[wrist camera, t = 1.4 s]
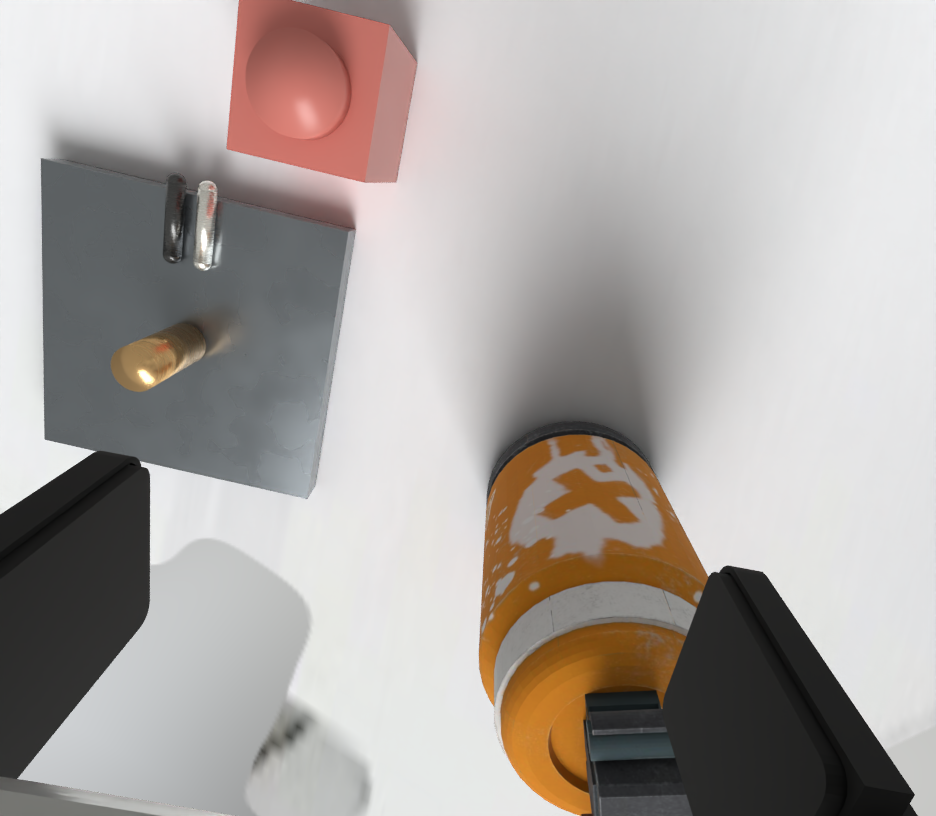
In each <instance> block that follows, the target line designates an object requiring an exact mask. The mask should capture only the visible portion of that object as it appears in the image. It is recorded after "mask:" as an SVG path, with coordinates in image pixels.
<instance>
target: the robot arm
mask: <svg viewBox="0 0 936 816" xmlns="http://www.w3.org/2000/svg"><path fill="white" fill-rule="evenodd" d="M149 602H150V474H149V471H148V469H147V468H144V467H141V464H140V461H139V459H138V458H136V457H133V456H128V455H122V454H117V453H112V452H106V451H97V452H94V453H93V454H91V455H90V456H88V457H87V458H85V459H84V460H82V461H81V462H79V463H78V464H76V465H75V466H73V467H72V468H70V469H69V470H67V471H66V472H64V473H62V474H61V475H59V476H58V477H56V478H55V479H53V480H52V481H50V482H49V483H47V484H46V485H44V486H43V487H41V488H40V489H38V490H37V491H35V492H34V493H32V494H31V495H29V496H28V497H26V498H25V499H23V500H22V501H20V502H19V503H17V504H16V505H14V506H13V507H11V508H10V509H8V510H7V511H5V512H3V513H2V514H0V816H233V815H228V814H222V813H216V812H209V811H204V810H198V809H192V808H185V807H180V806H174V805H168V804H162V803H157V802H151V801H145V800H139V799H133V798H127V797H121V796H115V795H109V794H103V793H98V792H92V791H85V790H80V789H73V788H68V787H62V786H56V785H49V784H44V783H38V782H32V781H26V780H19V779H17V778H18V777H19V776H20V774H21V773H22V772H23V771H24V769H25V768H26V767H27V766H28V764H29V763H30V762H31V761H32V760H33V759H34V757H35V756H36V755H37V753H38V752H39V751H40V750H41V749H42V747H43V746H44V745H45V744H46V742H47V741H48V740H49V739H50V738H51V736H52V735H53V734H54V733H55V731H56V730H57V729H58V728H59V727H60V725H61V724H62V723H63V722H64V720H65V719H66V718H67V717H68V715H69V714H70V713H71V712H72V711H73V709H74V708H75V707H76V706H77V704H78V703H79V702H80V701H81V699H82V698H83V697H84V696H85V695H86V693H87V692H88V691H89V690H90V688H91V687H92V686H93V685H94V683H95V682H96V681H97V680H98V679H99V677H100V676H101V675H102V674H103V672H104V671H105V670H106V669H107V667H108V666H109V665H110V664H111V663H112V661H113V660H114V659H115V658H116V656H117V655H118V654H119V653H120V651H121V650H122V649H123V648H124V647H125V645H126V644H127V643H128V642H129V640H130V639H131V638H132V637H133V636H134V634H135V633H136V632H137V631H138V629H139V628H140V627H141V625H142V624H143V622H144V620H145V618H146V616H147V613H148V609H149ZM663 718H664V723H665V726H666V729H667V732H668V736H669V739H670V742H671V746H672V749H673V752H674V755H675V759H676V762H677V765H678V769H679V772H680V775H681V778H682V782H683V785H684V788H685V792H686V795H687V798H688V801H689V805H690V808H691V811H692V815H693V816H918V815H917V814H916V813H915V811H914V810H913V808H912V806H911V805H910V802H911V800H912V799H913V797H914V795H915V794H914V793H913V791H912V790H911V788H910V787H909V785H908V784H907V782H906V781H905V780H904V778H903V777H902V775H901V774H900V772H899V771H898V769H897V768H896V766H895V765H894V764H893V762H892V760H891V759H890V757H889V756H888V755H887V753H886V751H885V750H884V749H883V747H882V746H881V744H880V743H879V741H878V740H877V738H876V737H875V735H874V734H873V732H872V731H871V729H870V728H869V726H868V725H867V723H866V722H865V721H864V719H863V718H862V716H861V715H860V713H859V712H858V710H857V709H856V707H855V706H854V704H853V703H852V701H851V700H850V698H849V697H848V695H847V694H846V693H845V691H844V690H843V688H842V687H841V685H840V684H839V682H838V681H837V679H836V678H835V676H834V675H833V673H832V672H831V670H830V669H829V667H828V666H827V664H826V663H825V662H824V660H823V659H822V657H821V656H820V654H819V653H818V651H817V650H816V648H815V647H814V645H813V644H812V642H811V641H810V639H809V638H808V636H807V635H806V634H805V632H804V631H803V629H802V628H801V626H800V625H799V623H798V622H797V620H796V619H795V617H794V616H793V614H792V613H791V611H790V610H789V608H788V607H787V606H786V604H785V603H784V601H783V600H782V598H781V597H780V595H779V594H778V592H777V591H776V589H775V588H774V586H773V585H772V583H771V582H770V580H769V579H768V578H767V576H766V575H765V574H764V573H763V572H760V571H755V570H749V569H744V568H738V567H733V566H725V567H723V568H722V569H721V571H720V572H719V573H717V572H713V573H711V575H710V576H709V578H708V580H707V582H706V585H705V587H704V590H703V593H702V596H701V598H700V601H699V604H698V606H697V609H696V612H695V614H694V617H693V620H692V622H691V625H690V628H689V631H688V633H687V636H686V639H685V641H684V644H683V647H682V649H681V652H680V655H679V657H678V660H677V663H676V666H675V668H674V671H673V674H672V676H671V679H670V682H669V684H668V687H667V690H666V692H665V696H664V699H663Z"/></svg>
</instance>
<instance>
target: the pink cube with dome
mask: <svg viewBox="0 0 936 816" xmlns="http://www.w3.org/2000/svg"><path fill="white" fill-rule="evenodd" d="M416 67H417V62H416V60H415V59H414V58H413V56H412V55H411V54H410V52H409V51H408V49H407V48H406V47H405V45H404V44H403V42H402V41H401V40H400V38H399V37H398V35H397V34H396V33H395V31H394V30H393V29H392V27H391V26H390V25H389V24H385V23H381V22H377V21H373V20H369V19H365V18H361V17H357V16H353V15H349V14H345V13H341V12H337V11H333V10H329V9H324V8H320V7H316V6H312V5H308V4H304V3H300V2H296V1H292V0H239V7H238V19H237V31H236V43H235V55H234V67H233V78H232V90H231V102H230V114H229V126H228V138H227V149H228V150H232V151H236V152H241V153H245V154H249V155H253V156H257V157H261V158H265V159H269V160H274V161H278V162H282V163H286V164H290V165H294V166H298V167H303V168H307V169H311V170H315V171H319V172H323V173H327V174H332V175H336V176H340V177H344V178H348V179H352V180H356V181H361V182H365V183H368V182H396V181H397V175H398V170H399V164H400V158H401V153H402V147H403V141H404V136H405V130H406V124H407V119H408V113H409V107H410V101H411V96H412V90H413V84H414V79H415V73H416Z"/></svg>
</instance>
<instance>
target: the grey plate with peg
mask: <svg viewBox="0 0 936 816" xmlns="http://www.w3.org/2000/svg"><path fill="white" fill-rule="evenodd" d="M186 185H187V184H186V180H185V178H184V177H183V176H182V175H181V174H179V173H171V174H170V175H169V176H168V177H167V181H166V184H164V183H159V182H155V181H151V180H147V179H143V178H139V177H134V176H130V175H126V174H122V173H118V172H114V171H109V170H105V169H101V168H97V167H93V166H88V165H84V164H80V163H76V162H72V161H68V160H63V159H44V158H41V192H42V270H43V348H44V426H45V440H49V441H54V442H58V443H63V444H67V445H72V446H76V447H80V448H85V449H89V450H94V451H106V452H112V453H117V454H122V455H128V456H133V457H136V458H138V459H139V461H142V462H147V463H151V464H155V465H160V466H164V467H169V468H173V469H177V470H182V471H186V472H191V473H195V474H199V475H204V476H208V477H213V478H217V479H222V480H226V481H230V482H235V483H239V484H244V485H248V486H252V487H257V488H261V489H266V490H270V491H274V492H279V493H283V494H288V495H292V496H297V497H301V498H305V499H307V498H308V497H309V495H310V493H311V492H312V490H313V489H314V487H315V484H316V478H317V471H318V465H319V459H320V452H321V446H322V440H323V433H324V427H325V421H326V414H327V408H328V402H329V395H330V389H331V383H332V376H333V370H334V364H335V358H336V351H337V345H338V339H339V332H340V326H341V320H342V313H343V307H344V301H345V294H346V288H347V282H348V275H349V269H350V263H351V257H352V250H353V244H354V238H355V231H356V229H352V228H347V227H343V226H339V225H335V224H331V223H326V222H322V221H318V220H314V219H310V218H306V217H301V216H297V215H293V214H289V213H285V212H281V211H276V210H272V209H268V208H264V207H260V206H255V205H251V204H247V203H243V202H239V201H235V200H230V199H226V198H222V197H218V196H217V194H218V190H217V187H216V185H215V184H214V183H213V182H211V181H208V180H205V181H202V182H201V183H200V184H199V186H198V192H197V191H193V190H189V189H186Z"/></svg>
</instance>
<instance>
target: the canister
mask: <svg viewBox="0 0 936 816" xmlns="http://www.w3.org/2000/svg"><path fill="white" fill-rule="evenodd" d="M486 505H487V509H486V524H485V544H484V564H483V583H482V603H481V623H480V643H479V670H480V674H481V678H482V683H483V686H484V688H485V691H486V693H487V695H488V697H489V700H490V701H491V703H492V704H493V706H494V723H495V729H496V733H497V737H498V740H499V743H500V745H501V747H502V749H503V751H504V753H505V755H506V756H507V758H508V759H509V761H510V763H511V764H512V766H513V768H514V769H515V771H516V772H517V774H518V775H519V776H520V778H521V779H522V780H523V781H524V782H525V783H526V784H527V785H528V786H529V787H530V788H531V789H532V790H533V791H534V792H536V793H537V794H538V795H540V796H541V797H542V798H544V799H545V800H546V801H548V802H550V803H552V804H553V805H555V806H557V807H559V808H561V809H563V810H566V811H569V812H571V813H574V814H577V815H580V816H693V815H692V811H691V808H690V805H689V801H688V798H687V795H686V792H685V788H684V785H683V782H682V778H681V775H680V772H679V769H678V765H677V762H676V759H675V755H674V752H673V749H672V746H671V742H670V739H669V736H668V732H667V729H666V726H665V723H664V718H663V699H664V696H665V692H666V690H667V687H668V684H669V682H670V679H671V676H672V674H673V671H674V668H675V666H676V663H677V660H678V657H679V655H680V652H681V649H682V647H683V644H684V641H685V639H686V636H687V633H688V631H689V628H690V625H691V622H692V620H693V617H694V614H695V612H696V609H697V606H698V604H699V601H700V598H701V596H702V593H703V590H704V587H705V585H706V582H707V580H708V578H709V577H708V576H707V574H706V572H705V570H704V568H703V566H702V564H701V562H700V560H699V558H698V556H697V554H696V552H695V551H694V549H693V547H692V545H691V543H690V541H689V539H688V537H687V535H686V533H685V531H684V529H683V527H682V526H681V524H680V522H679V520H678V518H677V516H676V514H675V512H674V510H673V508H672V506H671V504H670V502H669V501H668V499H667V497H666V495H665V493H664V491H663V489H662V487H661V485H660V483H659V481H658V479H657V477H656V476H655V474H654V472H653V470H652V468H651V466H650V464H649V462H648V460H647V459H646V457H645V456H644V455H643V453H642V452H641V451H640V449H639V448H638V447H637V446H636V445H635V444H633V443H632V442H631V441H630V440H629V439H627V438H626V437H624V436H623V435H621V434H620V433H618V432H616V431H614V430H612V429H610V428H607V427H604V426H601V425H597V424H593V423H586V422H563V423H556V424H551V425H548V426H545V427H542V428H539V429H537V430H534V431H532V432H530V433H528V434H526V435H525V436H523V437H522V438H521V439H519V440H518V441H516V442H515V443H514V444H513V445H512V446H511V447H510V448H509V449H508V450H506V452H505V453H504V454H503V456H502V457H501V458H500V459H499V461H498V463H497V464H496V466H495V468H494V470H493V472H492V475H491V478H490V481H489V485H488V491H487V504H486Z"/></svg>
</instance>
